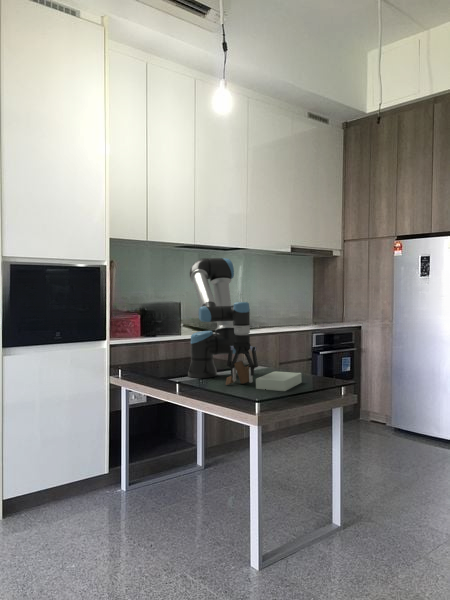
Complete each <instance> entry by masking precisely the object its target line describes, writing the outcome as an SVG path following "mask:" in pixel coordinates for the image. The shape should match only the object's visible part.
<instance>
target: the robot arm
mask: <svg viewBox="0 0 450 600" xmlns="http://www.w3.org/2000/svg"><path fill="white" fill-rule="evenodd" d="M234 276H235V268H234V265H233V262H232V260H231V259H230V258H227V257H226V258H224V257H211V258H210V257H207V258H206V257H203V258H199V259H196V261H194V262H193V264H192V265H191V267H190V270H189V278H190V282H192V283H193V285H194V289H195V292H196V295H197V298H198V301H199V305H200V307H199V308H198V319H199V321H200V322H202V323H205V322H206V323H214V322H216V324H217V326H216V328H215V331H214V332H213V330H203V331H197V332H194V333H192V334H191V336H190V363H189V364H190V365H189V368H188V372H187V376H188V377H189V378H193V379H194V378H195V379H206V378H214V377H216V376H218V374H217V373H218V371H217V367H216V366H215V362H214V356H223V355H224V356H225V355H227V363H226V366H227V367H229V368H230V374H231V375H230V376H232V378H233V381H234V383H235V382H237V371H236V368H235V365H234V364H235V363H236V362H238V358H239V356H240V355H241V354H243V355H244V356H245V358H246V360H247V363H248V366H249V368H250V369H249V382H248V383H250V384H251V383H253V382H254V381H253V378H252V376H253V377H254V375H255V369H256V368H258V367H259V363H258V356H257V346H252V345H251V335H250V333H251V331H250V330H251V329H250V327H251V326H250V322H251V321H250V320H251V319H250V317H251V316H250V315H251V313H250V310H251V309H250V303H249V302H248V301H236V302H233V305H232V301H231V292H230V283H232V279H234V278H235V277H234ZM209 280H210V282H209ZM209 283H210V284H211V285H212V286H213V292H212V289H211V286H210V284H209ZM213 294H214V295H213ZM250 351H251V355H250ZM233 355H234V356H233ZM232 358H233V359H232Z"/></svg>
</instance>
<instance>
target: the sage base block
mask: <svg viewBox="0 0 450 600" xmlns="http://www.w3.org/2000/svg"><path fill="white" fill-rule="evenodd" d="M301 383H303V382H302V372H292V371H291V372H289V371H277V370H275V371H272V372H269V373H267V374H264V375H262V376H260V377H257V378H255V389H256V390H265V389H266V390H267V391H279V392H286V391H288V390H290V389H293V388H294V387H295V386H296V387H297V386H298V385H299V384H301ZM266 390H265V391H266Z"/></svg>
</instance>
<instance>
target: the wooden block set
mask: <svg viewBox="0 0 450 600" xmlns="http://www.w3.org/2000/svg"><path fill="white" fill-rule="evenodd" d="M234 365H235V367H234V368H236V375H238V379H239V382H240V384H241V385H243V384H246V383H249V369H250V365H248V366H245V364H244V361H243V360H240V361H236V363H235V364H234ZM253 378H254V375H253V376H252V379H253ZM233 383H235V382H234V381H233V375H230V376H227V377H226V381H225V386H229V385H231V384H233Z"/></svg>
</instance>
